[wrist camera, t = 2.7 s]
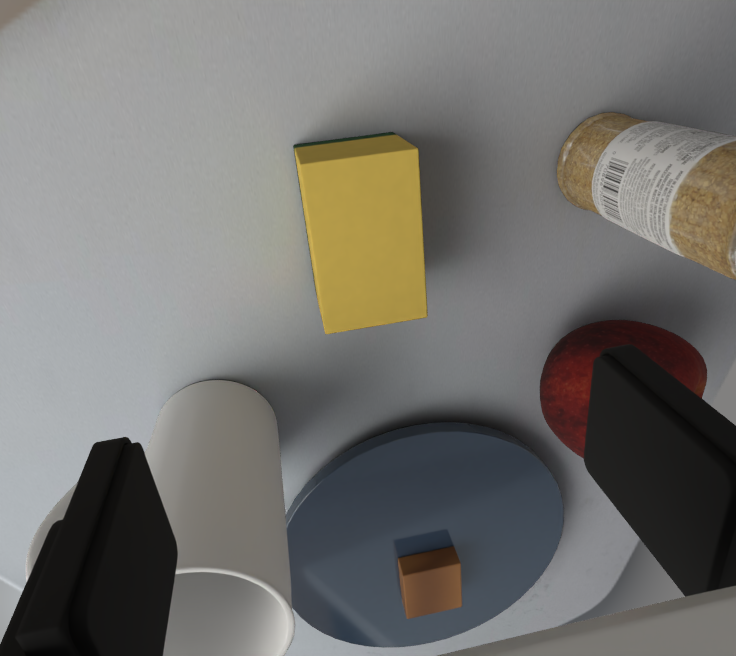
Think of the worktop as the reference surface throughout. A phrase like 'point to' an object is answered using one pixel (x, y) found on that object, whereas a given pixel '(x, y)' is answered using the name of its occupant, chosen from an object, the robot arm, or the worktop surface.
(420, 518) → the plate
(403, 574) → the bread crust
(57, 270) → the worktop surface
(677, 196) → the sprinkles bottle
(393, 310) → the sponge
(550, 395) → the apple
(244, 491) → the mug
